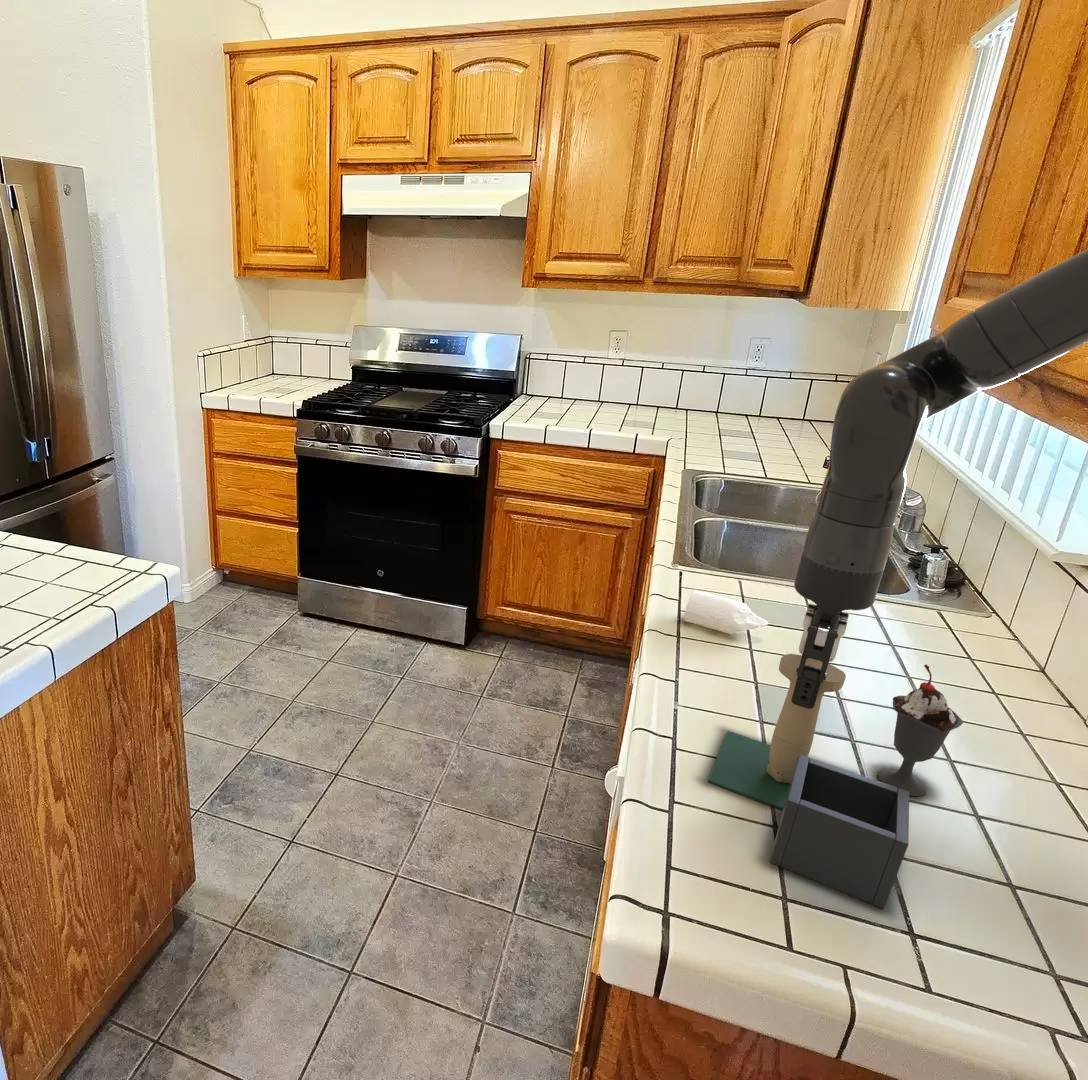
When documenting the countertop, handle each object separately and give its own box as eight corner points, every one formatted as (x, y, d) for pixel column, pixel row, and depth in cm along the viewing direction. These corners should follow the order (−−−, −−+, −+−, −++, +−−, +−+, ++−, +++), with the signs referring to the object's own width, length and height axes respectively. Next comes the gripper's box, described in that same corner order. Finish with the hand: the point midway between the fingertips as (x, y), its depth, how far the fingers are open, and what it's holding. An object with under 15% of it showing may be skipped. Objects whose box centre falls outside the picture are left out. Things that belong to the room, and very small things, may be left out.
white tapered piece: (758, 650, 119) (766, 618, 117) (681, 626, 126) (687, 595, 124) (767, 636, 123) (775, 606, 121) (692, 613, 130) (699, 584, 128)
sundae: (881, 757, 94) (917, 652, 89) (943, 787, 89) (986, 678, 84) (858, 777, 91) (894, 669, 85) (922, 809, 86) (964, 697, 80)
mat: (851, 774, 91) (852, 772, 91) (843, 833, 82) (844, 831, 82) (727, 732, 98) (727, 730, 98) (707, 781, 89) (707, 779, 89)
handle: (804, 799, 86) (838, 687, 81) (746, 772, 90) (775, 664, 85) (817, 780, 89) (850, 671, 84) (760, 755, 93) (788, 649, 88)
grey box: (887, 852, 79) (909, 791, 76) (884, 909, 72) (908, 844, 69) (781, 812, 84) (799, 753, 81) (769, 862, 77) (787, 800, 75)
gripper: (882, 588, 72) (839, 730, 78) (887, 544, 83) (849, 672, 89) (795, 568, 76) (759, 705, 82) (810, 529, 87) (778, 652, 93)
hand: (806, 688), depth 85 cm, fingers open, 8 cm apart
